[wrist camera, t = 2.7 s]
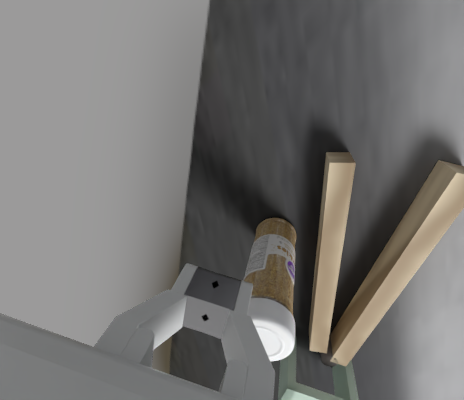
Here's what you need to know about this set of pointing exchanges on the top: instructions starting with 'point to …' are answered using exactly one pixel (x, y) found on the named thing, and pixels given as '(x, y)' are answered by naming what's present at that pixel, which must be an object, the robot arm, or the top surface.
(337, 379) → the sleeve
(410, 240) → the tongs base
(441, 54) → the top surface
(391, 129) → the top surface
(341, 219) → the tong arm
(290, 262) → the sprinkles bottle
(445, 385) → the top surface
